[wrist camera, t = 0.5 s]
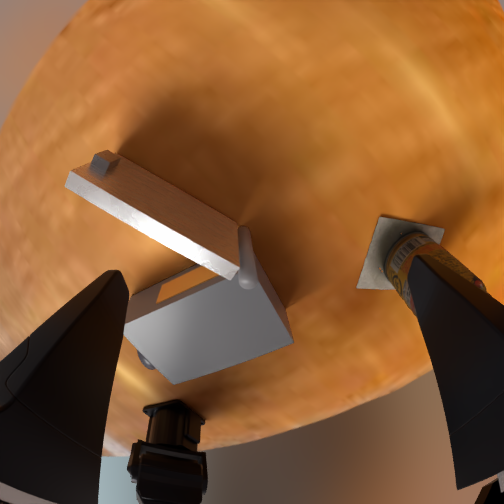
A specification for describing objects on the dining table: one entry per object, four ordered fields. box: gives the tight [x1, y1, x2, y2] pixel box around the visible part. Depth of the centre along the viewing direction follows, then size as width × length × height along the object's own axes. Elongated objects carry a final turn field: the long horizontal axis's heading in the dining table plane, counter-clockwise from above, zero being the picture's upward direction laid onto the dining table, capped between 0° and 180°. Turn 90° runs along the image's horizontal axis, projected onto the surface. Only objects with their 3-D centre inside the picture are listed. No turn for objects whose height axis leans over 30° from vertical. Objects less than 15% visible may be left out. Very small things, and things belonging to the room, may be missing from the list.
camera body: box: [123, 226, 294, 385], centre depth 22 cm, size 14×9×7 cm
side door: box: [65, 150, 240, 280], centre depth 18 cm, size 11×2×7 cm, turn 56°
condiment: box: [356, 217, 491, 317], centre depth 20 cm, size 7×8×12 cm
